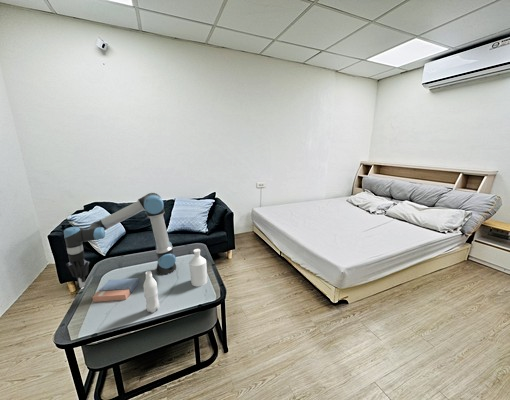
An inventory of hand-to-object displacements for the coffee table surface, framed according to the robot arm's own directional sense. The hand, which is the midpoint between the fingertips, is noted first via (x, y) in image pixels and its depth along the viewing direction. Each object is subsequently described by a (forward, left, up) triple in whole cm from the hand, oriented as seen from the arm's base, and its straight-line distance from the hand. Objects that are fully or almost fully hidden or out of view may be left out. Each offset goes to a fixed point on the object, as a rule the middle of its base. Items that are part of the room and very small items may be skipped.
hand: (82, 286), depth 137 cm
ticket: (-16, -10, -10) cm, 22 cm away
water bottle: (-47, +14, -10) cm, 51 cm away
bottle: (-71, -12, -10) cm, 72 cm away
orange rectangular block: (-16, 0, -10) cm, 19 cm away
